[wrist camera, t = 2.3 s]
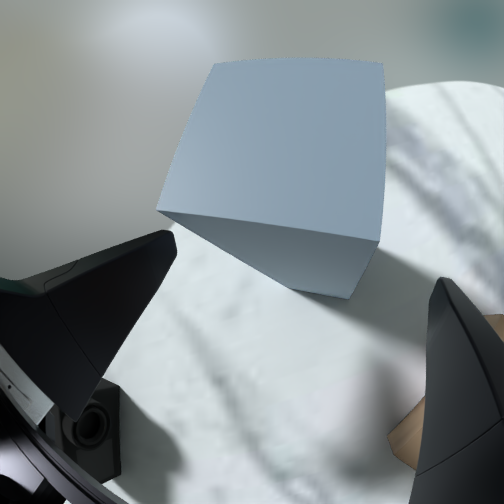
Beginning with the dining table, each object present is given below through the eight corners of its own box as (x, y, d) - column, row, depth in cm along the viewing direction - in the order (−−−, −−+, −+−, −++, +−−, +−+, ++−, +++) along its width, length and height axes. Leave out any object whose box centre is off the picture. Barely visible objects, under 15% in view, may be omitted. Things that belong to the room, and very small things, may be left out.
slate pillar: (348, 299, 17) (379, 241, 4) (287, 288, 18) (155, 209, 5) (359, 238, 18) (383, 63, 5) (299, 228, 19) (214, 63, 6)
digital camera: (131, 481, 18) (81, 506, 12) (92, 457, 20) (43, 473, 13) (130, 390, 20) (67, 403, 14) (89, 370, 22) (30, 375, 15)
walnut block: (462, 489, 10) (473, 507, 7) (386, 435, 14) (393, 454, 11) (543, 385, 10) (563, 391, 7) (481, 315, 14) (502, 314, 11)
